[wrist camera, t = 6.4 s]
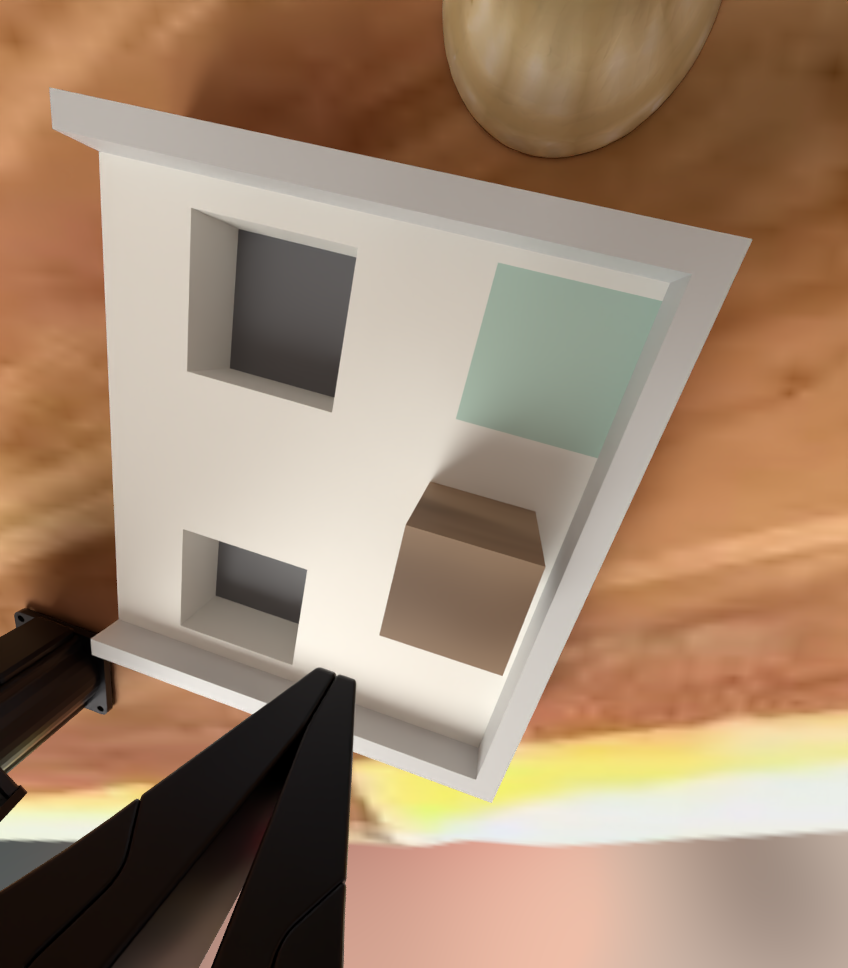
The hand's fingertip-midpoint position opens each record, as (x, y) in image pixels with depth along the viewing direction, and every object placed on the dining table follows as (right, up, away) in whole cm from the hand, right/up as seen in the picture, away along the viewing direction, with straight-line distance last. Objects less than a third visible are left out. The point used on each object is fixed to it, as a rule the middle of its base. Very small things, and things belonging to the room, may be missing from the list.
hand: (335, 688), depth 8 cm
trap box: (-1, +4, +11) cm, 12 cm away
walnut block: (+4, +2, +7) cm, 8 cm away
